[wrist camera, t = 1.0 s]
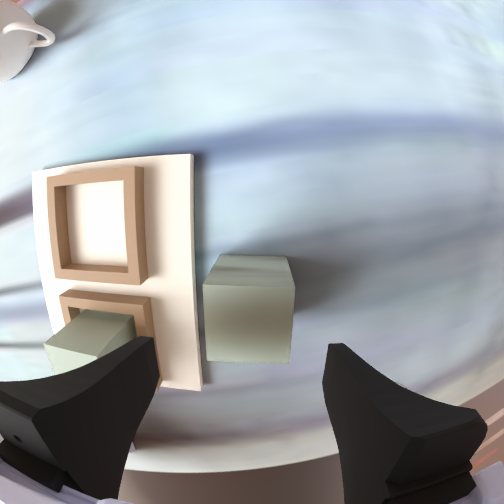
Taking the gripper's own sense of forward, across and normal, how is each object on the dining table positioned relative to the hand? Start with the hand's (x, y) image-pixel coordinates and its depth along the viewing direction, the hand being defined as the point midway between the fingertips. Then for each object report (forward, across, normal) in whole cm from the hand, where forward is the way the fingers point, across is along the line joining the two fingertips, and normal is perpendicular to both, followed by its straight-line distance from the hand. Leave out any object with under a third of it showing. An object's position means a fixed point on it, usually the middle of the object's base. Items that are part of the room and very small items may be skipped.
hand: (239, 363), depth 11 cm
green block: (+10, 0, 0) cm, 10 cm away
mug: (+10, +22, -22) cm, 32 cm away
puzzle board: (+9, +11, 0) cm, 14 cm away
